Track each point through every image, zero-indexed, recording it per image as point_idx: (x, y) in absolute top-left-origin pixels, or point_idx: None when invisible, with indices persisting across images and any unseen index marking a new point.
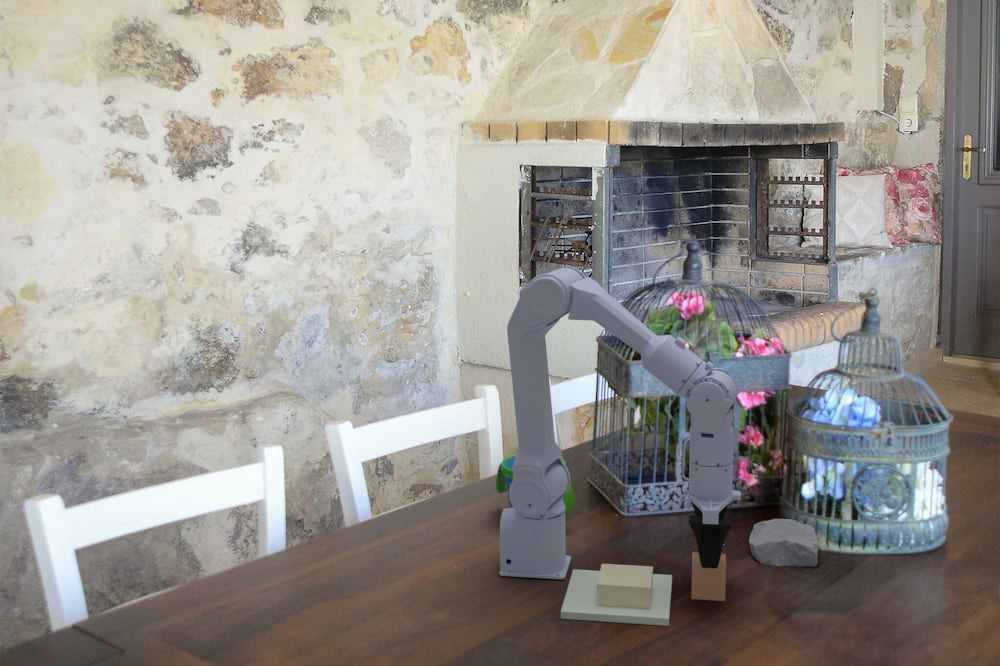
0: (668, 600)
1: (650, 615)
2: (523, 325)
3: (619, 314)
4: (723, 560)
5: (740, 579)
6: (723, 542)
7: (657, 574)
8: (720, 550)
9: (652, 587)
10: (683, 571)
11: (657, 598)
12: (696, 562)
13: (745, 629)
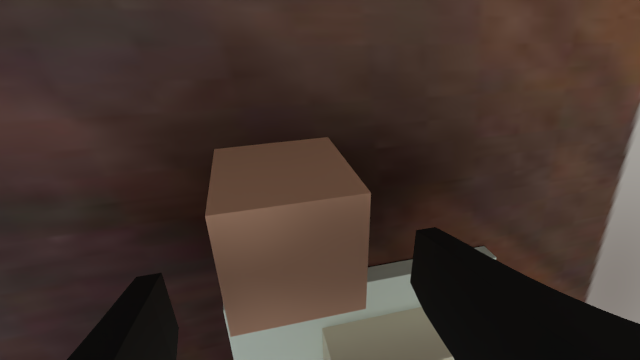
0: (398, 279)
1: None
2: None
3: None
4: (295, 212)
5: (108, 96)
6: (591, 306)
7: (230, 340)
8: (522, 278)
9: (341, 330)
10: (123, 284)
11: (388, 302)
12: (341, 301)
13: (514, 63)
